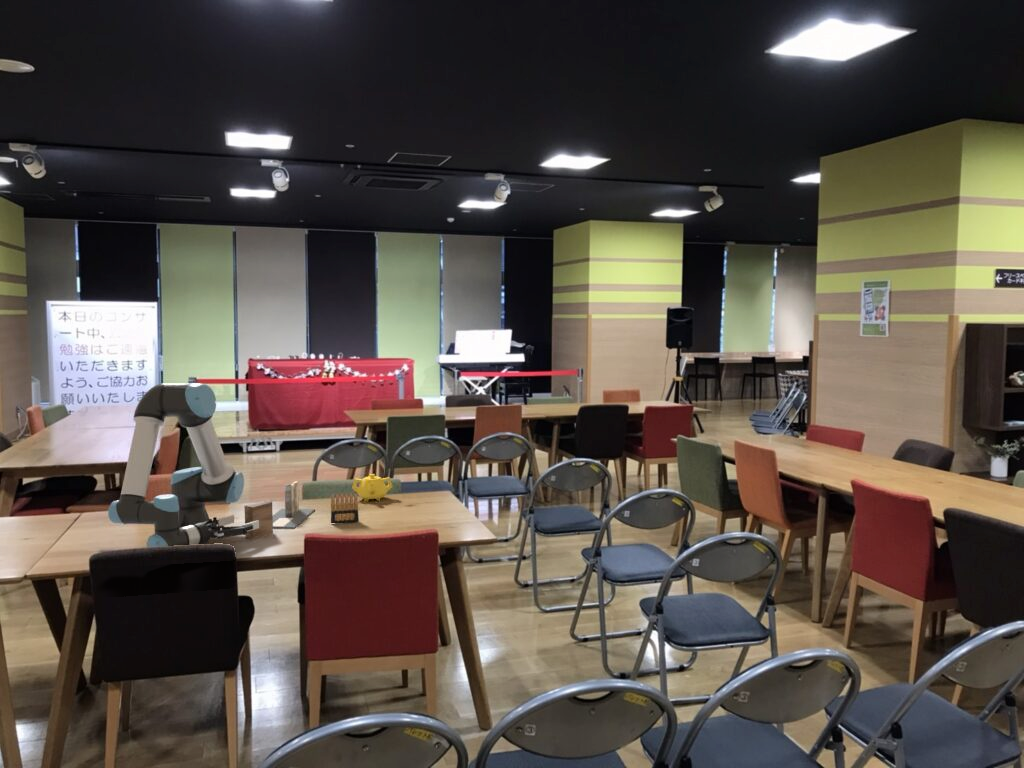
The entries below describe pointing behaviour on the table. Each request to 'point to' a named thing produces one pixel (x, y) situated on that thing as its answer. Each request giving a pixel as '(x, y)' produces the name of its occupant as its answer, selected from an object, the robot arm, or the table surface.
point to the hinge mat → (290, 518)
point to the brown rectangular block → (259, 518)
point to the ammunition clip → (344, 509)
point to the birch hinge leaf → (291, 499)
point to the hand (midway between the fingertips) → (245, 521)
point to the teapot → (372, 487)
